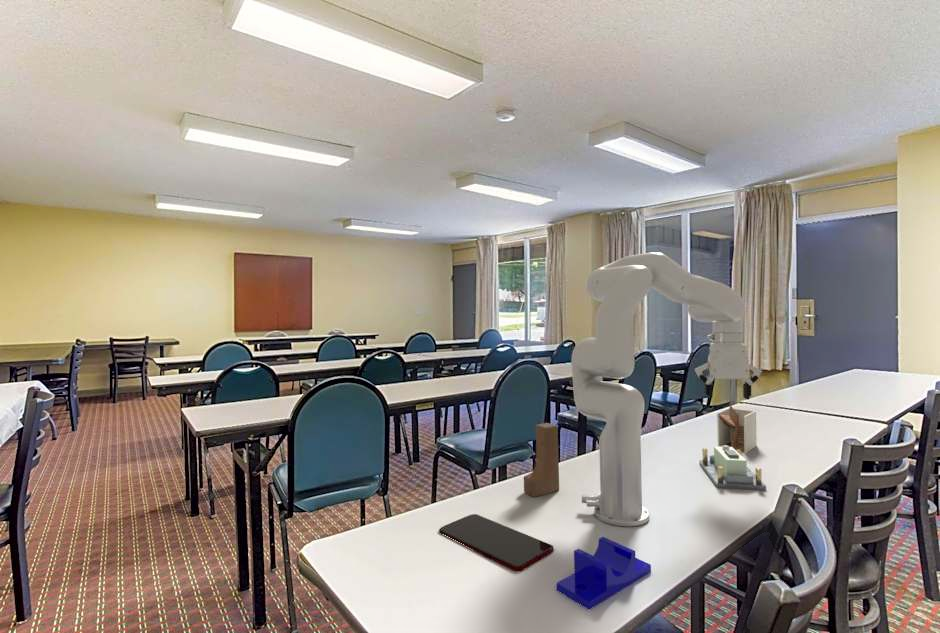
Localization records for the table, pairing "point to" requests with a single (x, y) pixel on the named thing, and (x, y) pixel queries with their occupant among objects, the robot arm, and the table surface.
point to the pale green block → (729, 460)
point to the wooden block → (544, 462)
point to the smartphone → (497, 541)
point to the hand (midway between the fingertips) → (727, 398)
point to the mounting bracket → (602, 573)
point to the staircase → (737, 428)
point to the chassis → (731, 475)
